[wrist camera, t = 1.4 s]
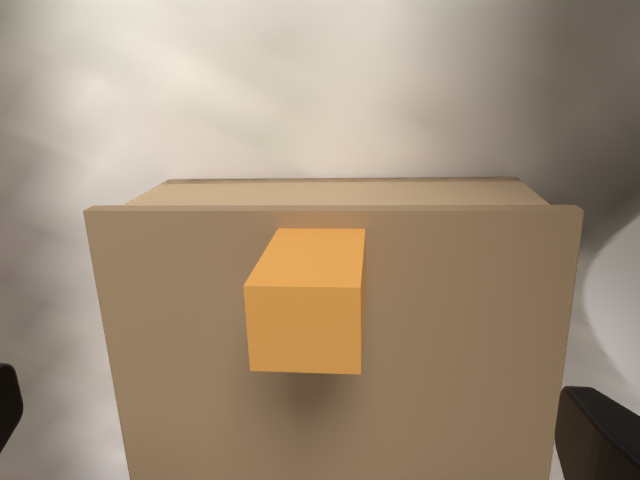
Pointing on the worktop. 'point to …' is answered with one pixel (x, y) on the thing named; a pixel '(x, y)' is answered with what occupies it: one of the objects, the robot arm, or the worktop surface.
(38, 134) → the worktop surface
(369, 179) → the carton
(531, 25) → the worktop surface
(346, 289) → the lid
